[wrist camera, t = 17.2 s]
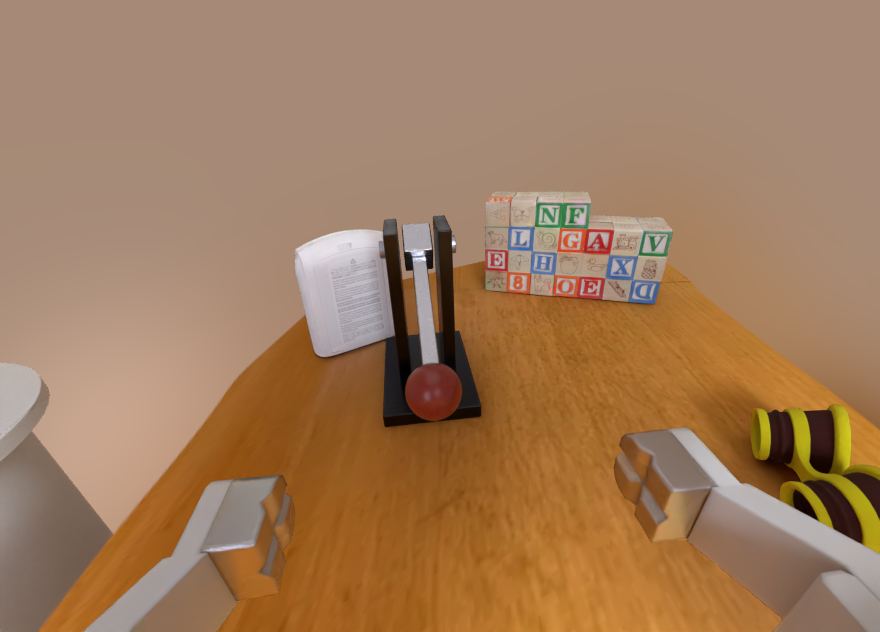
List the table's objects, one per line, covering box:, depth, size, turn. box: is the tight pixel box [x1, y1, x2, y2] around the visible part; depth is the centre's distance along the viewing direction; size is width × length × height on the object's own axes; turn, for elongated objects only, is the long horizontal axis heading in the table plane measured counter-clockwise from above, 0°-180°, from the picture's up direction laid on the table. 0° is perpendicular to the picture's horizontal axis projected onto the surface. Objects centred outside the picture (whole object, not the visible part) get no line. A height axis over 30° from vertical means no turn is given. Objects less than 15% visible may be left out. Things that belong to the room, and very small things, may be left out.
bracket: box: [379, 215, 481, 427], centre depth 33 cm, size 12×8×15 cm, turn 6°
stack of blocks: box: [485, 192, 673, 304], centre depth 49 cm, size 21×6×12 cm, turn 72°
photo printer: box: [295, 229, 395, 357], centre depth 40 cm, size 10×4×12 cm, turn 121°
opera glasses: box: [751, 404, 880, 554], centre depth 23 cm, size 10×5×5 cm, turn 163°
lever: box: [402, 223, 462, 421], centre depth 27 cm, size 15×4×4 cm, turn 7°
